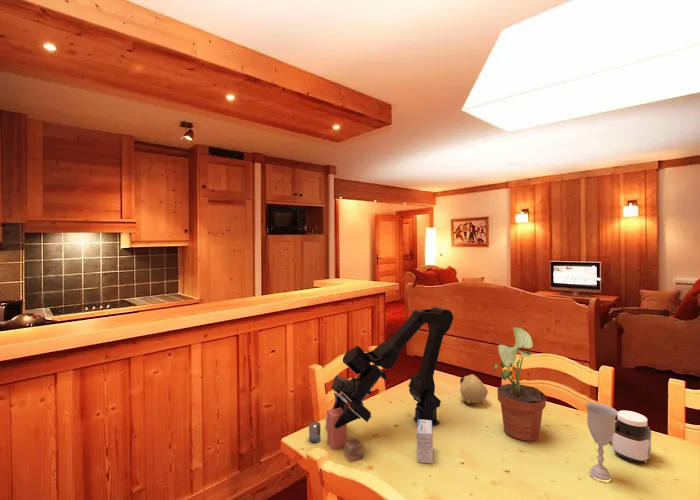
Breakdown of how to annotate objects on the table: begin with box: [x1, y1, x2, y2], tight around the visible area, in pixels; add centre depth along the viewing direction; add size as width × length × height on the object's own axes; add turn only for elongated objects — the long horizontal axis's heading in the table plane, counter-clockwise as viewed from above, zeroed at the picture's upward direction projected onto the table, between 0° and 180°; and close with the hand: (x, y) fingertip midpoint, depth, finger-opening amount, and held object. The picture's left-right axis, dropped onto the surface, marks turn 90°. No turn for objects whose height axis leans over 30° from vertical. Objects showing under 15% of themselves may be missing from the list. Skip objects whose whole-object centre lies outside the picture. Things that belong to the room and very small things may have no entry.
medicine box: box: [416, 420, 434, 464], centre depth 106 cm, size 8×4×9 cm, turn 168°
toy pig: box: [459, 373, 489, 404], centre depth 140 cm, size 10×12×11 cm
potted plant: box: [493, 326, 547, 442], centre depth 116 cm, size 16×15×35 cm
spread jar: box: [609, 409, 652, 464], centre depth 106 cm, size 12×11×12 cm
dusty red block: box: [326, 408, 348, 450], centre depth 112 cm, size 4×4×10 cm
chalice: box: [584, 402, 618, 480], centre depth 95 cm, size 7×7×18 cm
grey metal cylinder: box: [308, 421, 322, 444], centre depth 114 cm, size 4×4×5 cm
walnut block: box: [344, 438, 364, 463], centre depth 105 cm, size 4×4×4 cm
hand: (332, 423), depth 111 cm, fingers closed on dusty red block, 4 cm apart
